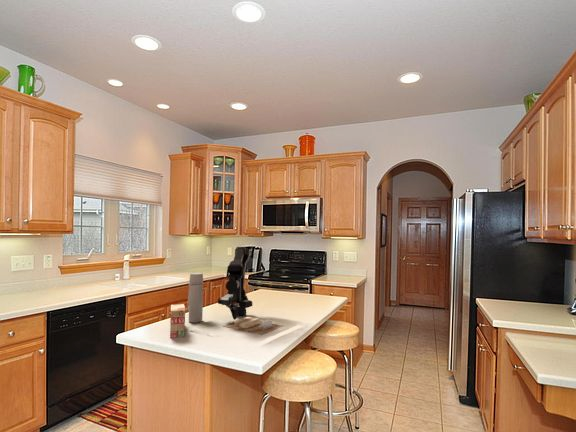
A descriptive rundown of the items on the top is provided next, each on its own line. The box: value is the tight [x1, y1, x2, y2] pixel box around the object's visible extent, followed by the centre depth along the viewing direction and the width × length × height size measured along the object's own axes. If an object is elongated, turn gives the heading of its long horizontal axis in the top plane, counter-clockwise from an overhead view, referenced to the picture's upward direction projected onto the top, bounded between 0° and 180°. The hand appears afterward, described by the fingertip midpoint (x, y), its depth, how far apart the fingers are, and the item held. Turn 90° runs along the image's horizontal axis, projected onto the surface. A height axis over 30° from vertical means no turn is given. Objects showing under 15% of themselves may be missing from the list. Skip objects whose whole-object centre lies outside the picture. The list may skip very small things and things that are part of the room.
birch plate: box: [234, 316, 260, 328], centre depth 168 cm, size 7×10×2 cm
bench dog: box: [261, 319, 273, 331], centre depth 161 cm, size 2×7×4 cm, turn 147°
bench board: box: [222, 320, 284, 336], centre depth 165 cm, size 24×18×2 cm
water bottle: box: [186, 272, 204, 324], centre depth 180 cm, size 9×8×25 cm
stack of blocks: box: [169, 303, 186, 339], centre depth 162 cm, size 21×6×12 cm, turn 19°
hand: (234, 319), depth 172 cm, fingers closed
